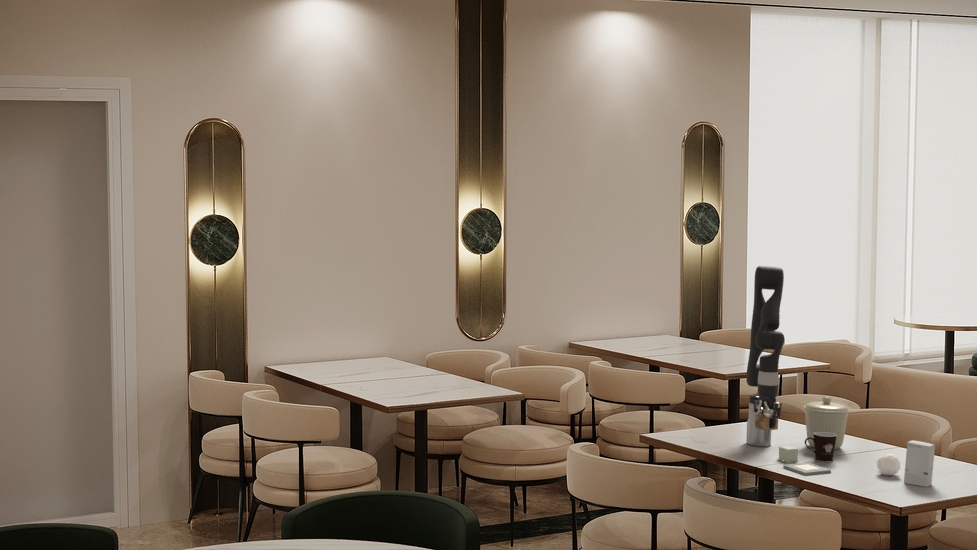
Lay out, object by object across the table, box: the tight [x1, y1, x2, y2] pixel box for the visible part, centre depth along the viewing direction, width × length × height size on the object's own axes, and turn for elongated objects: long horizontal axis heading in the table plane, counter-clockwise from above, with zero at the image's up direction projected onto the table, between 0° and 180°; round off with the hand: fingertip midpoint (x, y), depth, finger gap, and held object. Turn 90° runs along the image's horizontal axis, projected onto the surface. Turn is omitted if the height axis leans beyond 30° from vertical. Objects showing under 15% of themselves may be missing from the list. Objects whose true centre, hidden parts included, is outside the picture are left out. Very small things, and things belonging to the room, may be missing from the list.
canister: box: [803, 396, 851, 451], centre depth 415 cm, size 18×18×21 cm
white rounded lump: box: [876, 453, 901, 477], centre depth 373 cm, size 8×8×12 cm
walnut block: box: [755, 413, 779, 431], centre depth 386 cm, size 6×6×5 cm
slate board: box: [782, 462, 832, 476], centre depth 376 cm, size 12×12×1 cm
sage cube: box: [778, 445, 799, 463], centre depth 391 cm, size 5×5×5 cm
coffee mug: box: [804, 432, 837, 463], centre depth 394 cm, size 12×9×10 cm
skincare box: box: [903, 440, 936, 488], centre depth 359 cm, size 8×6×15 cm
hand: (766, 426), depth 386 cm, fingers closed on walnut block, 6 cm apart
